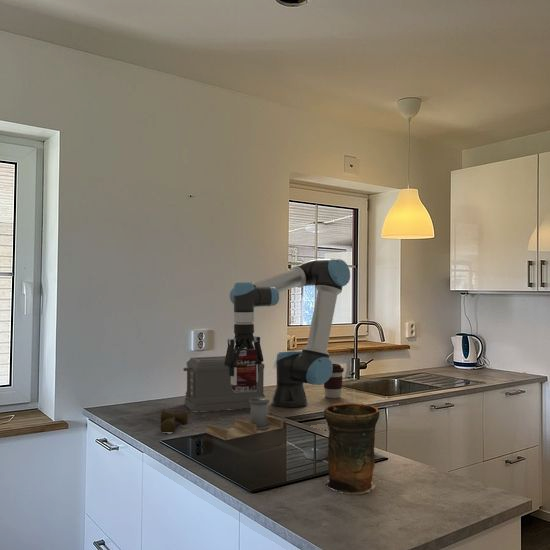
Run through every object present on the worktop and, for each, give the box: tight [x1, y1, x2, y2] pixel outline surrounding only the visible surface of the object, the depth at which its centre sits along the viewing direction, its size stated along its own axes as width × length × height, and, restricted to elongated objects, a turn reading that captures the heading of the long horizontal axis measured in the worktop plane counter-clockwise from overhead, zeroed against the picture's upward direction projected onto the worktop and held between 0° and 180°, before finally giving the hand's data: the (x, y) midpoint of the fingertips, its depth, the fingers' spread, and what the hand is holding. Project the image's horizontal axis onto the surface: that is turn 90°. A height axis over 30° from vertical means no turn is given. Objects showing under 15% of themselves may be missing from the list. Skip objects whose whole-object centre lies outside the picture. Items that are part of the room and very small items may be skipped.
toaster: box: [183, 355, 266, 412], centre depth 239 cm, size 19×34×20 cm, turn 112°
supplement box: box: [232, 348, 256, 393], centre depth 211 cm, size 9×5×16 cm, turn 105°
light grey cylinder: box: [249, 397, 270, 430], centre depth 199 cm, size 7×7×10 cm
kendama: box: [160, 408, 189, 433], centre depth 203 cm, size 6×10×20 cm
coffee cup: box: [323, 363, 345, 399], centre depth 260 cm, size 10×10×15 cm
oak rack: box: [206, 414, 284, 441], centre depth 195 cm, size 25×11×4 cm, turn 130°
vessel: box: [323, 402, 380, 496], centre depth 145 cm, size 14×14×20 cm
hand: (244, 382), depth 211 cm, fingers closed on supplement box, 9 cm apart
